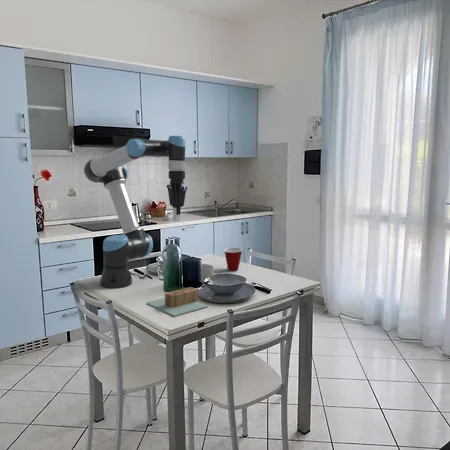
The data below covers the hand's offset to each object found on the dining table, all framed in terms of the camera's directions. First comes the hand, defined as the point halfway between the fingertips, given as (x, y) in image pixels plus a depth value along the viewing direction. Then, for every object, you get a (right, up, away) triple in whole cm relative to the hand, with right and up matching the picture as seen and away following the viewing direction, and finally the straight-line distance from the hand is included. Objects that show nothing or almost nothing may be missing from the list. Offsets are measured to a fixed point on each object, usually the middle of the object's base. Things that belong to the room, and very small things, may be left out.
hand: (176, 221), depth 196 cm
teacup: (+10, -31, +17) cm, 36 cm away
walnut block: (+9, -32, -12) cm, 35 cm away
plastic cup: (+27, -27, +41) cm, 56 cm away
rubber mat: (+2, -36, -18) cm, 40 cm away
